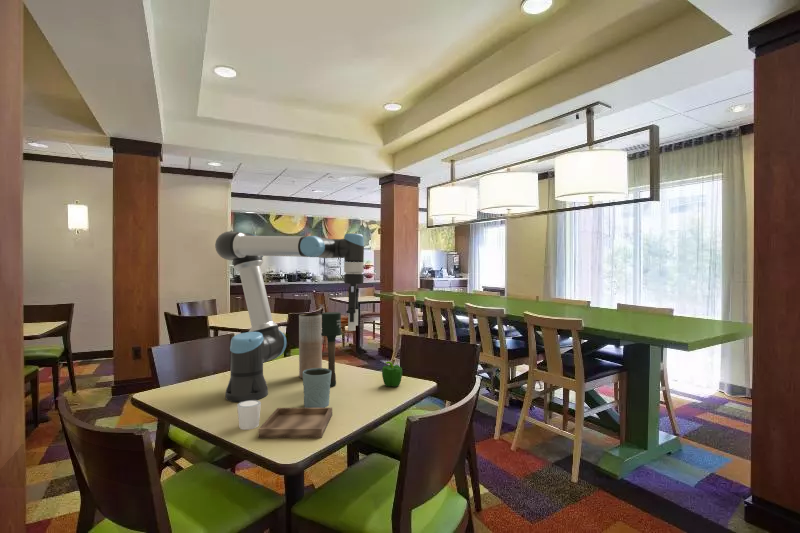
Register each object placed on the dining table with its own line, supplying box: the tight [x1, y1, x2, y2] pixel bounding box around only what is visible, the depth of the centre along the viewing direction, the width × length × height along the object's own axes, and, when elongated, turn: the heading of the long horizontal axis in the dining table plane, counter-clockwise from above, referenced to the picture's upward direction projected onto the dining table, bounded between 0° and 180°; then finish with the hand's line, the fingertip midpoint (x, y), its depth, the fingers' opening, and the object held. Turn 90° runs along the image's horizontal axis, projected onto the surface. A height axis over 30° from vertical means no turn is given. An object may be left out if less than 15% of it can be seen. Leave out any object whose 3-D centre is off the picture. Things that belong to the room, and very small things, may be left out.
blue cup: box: [302, 367, 332, 408], centre depth 144 cm, size 10×10×12 cm
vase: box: [298, 312, 323, 379], centre depth 183 cm, size 10×10×28 cm
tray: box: [257, 407, 333, 439], centre depth 125 cm, size 18×18×2 cm
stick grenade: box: [321, 311, 343, 388], centre depth 168 cm, size 8×9×30 cm
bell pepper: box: [381, 361, 403, 388], centre depth 168 cm, size 8×8×10 cm
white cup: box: [236, 399, 262, 431], centre depth 125 cm, size 7×7×7 cm
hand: (353, 328), depth 159 cm, fingers open, 13 cm apart
